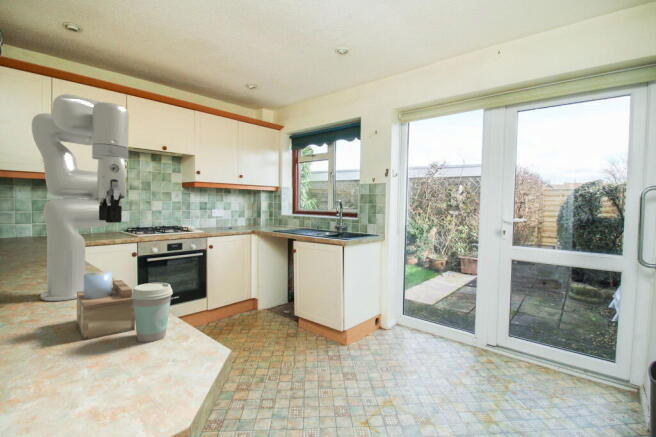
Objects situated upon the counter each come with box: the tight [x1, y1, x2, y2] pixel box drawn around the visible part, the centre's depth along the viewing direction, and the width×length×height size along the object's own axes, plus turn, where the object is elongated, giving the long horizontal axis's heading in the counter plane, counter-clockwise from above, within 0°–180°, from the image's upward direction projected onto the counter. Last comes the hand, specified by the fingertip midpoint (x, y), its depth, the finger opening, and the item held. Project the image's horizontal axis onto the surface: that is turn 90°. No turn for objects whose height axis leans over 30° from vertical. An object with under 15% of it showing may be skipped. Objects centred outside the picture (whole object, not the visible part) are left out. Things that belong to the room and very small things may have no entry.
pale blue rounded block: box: [84, 271, 113, 299], centre depth 78 cm, size 6×6×6 cm
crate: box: [76, 296, 136, 341], centre depth 79 cm, size 14×10×7 cm
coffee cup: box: [131, 282, 174, 343], centre depth 74 cm, size 8×8×12 cm
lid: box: [77, 279, 133, 309], centre depth 79 cm, size 14×10×3 cm
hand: (109, 221), depth 80 cm, fingers open, 9 cm apart
